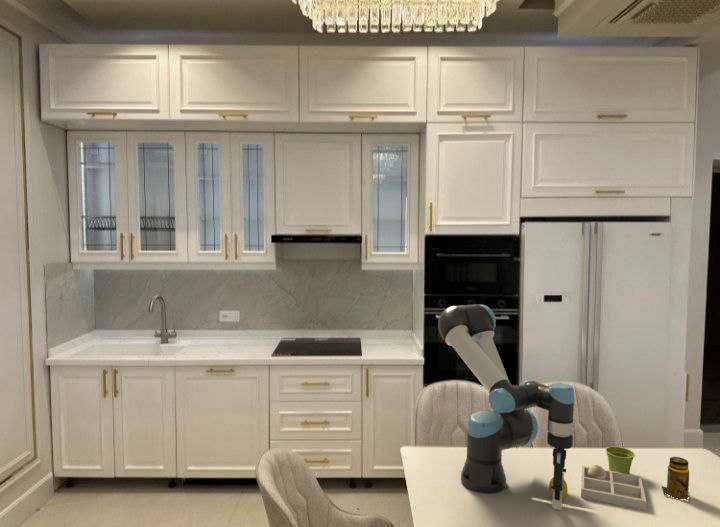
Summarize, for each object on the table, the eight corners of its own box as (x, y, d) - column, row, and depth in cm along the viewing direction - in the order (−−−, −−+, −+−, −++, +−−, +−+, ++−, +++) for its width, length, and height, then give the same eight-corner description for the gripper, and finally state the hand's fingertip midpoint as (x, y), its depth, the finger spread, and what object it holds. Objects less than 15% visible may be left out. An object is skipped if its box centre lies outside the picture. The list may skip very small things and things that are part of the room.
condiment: (689, 502, 166) (691, 465, 165) (659, 495, 170) (661, 460, 170) (688, 492, 172) (690, 457, 172) (659, 486, 177) (660, 452, 176)
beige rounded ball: (587, 483, 176) (588, 467, 176) (587, 476, 181) (588, 461, 181) (606, 487, 174) (606, 470, 173) (605, 480, 179) (606, 464, 179)
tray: (580, 499, 167) (581, 488, 167) (581, 475, 184) (581, 465, 184) (645, 512, 160) (646, 501, 159) (640, 486, 176) (640, 476, 176)
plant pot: (640, 480, 180) (641, 456, 180) (615, 482, 179) (616, 458, 178) (622, 468, 190) (623, 445, 189) (598, 470, 188) (599, 447, 188)
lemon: (568, 505, 163) (569, 481, 163) (549, 503, 164) (550, 479, 164) (565, 497, 168) (566, 473, 168) (547, 495, 170) (548, 471, 169)
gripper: (571, 448, 153) (569, 520, 154) (573, 422, 174) (571, 486, 175) (544, 444, 156) (542, 515, 157) (550, 419, 177) (548, 481, 178)
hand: (557, 500), depth 166 cm, fingers open, 11 cm apart
